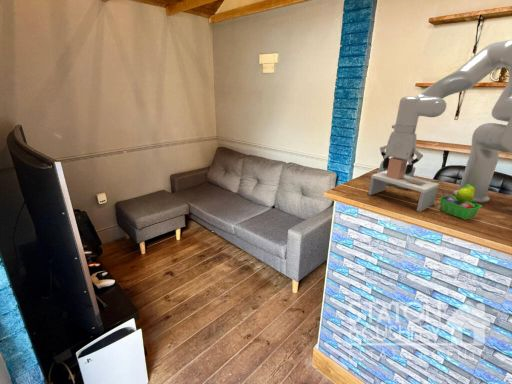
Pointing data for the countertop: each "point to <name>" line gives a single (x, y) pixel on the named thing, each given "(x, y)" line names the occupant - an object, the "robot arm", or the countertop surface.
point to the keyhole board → (426, 189)
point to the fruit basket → (461, 203)
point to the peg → (396, 168)
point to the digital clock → (404, 174)
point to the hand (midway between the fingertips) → (396, 170)
